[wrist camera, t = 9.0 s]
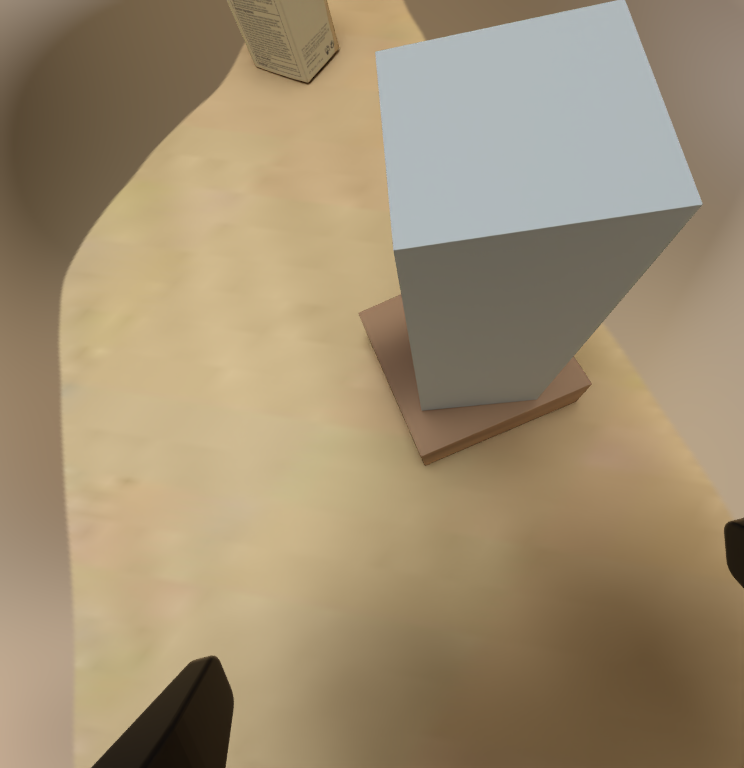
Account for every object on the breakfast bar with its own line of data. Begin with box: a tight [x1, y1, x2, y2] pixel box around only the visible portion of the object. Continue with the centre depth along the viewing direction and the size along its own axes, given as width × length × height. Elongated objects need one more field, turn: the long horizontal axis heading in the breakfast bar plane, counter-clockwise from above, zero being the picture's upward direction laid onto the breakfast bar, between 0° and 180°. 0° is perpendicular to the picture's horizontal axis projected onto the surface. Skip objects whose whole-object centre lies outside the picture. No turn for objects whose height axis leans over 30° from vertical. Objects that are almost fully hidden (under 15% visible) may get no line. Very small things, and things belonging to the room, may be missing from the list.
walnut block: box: [359, 295, 592, 466], centre depth 21 cm, size 8×8×3 cm
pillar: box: [375, 0, 703, 411], centre depth 13 cm, size 5×5×12 cm
